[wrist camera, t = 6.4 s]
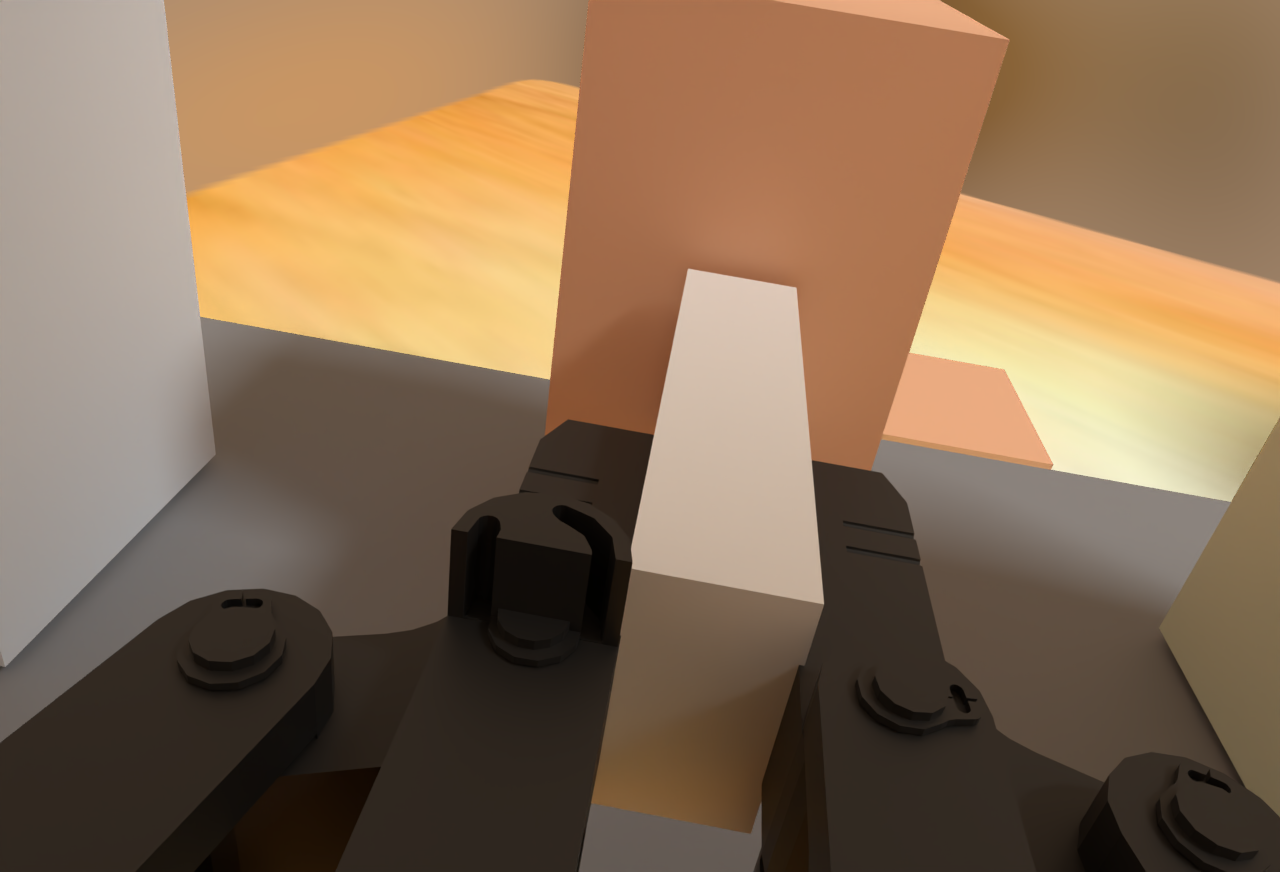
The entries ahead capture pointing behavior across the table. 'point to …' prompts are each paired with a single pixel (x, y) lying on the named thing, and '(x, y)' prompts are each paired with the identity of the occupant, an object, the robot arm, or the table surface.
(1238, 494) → the sage green block
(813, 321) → the terracotta key
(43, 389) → the light grey block
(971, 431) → the terracotta tile
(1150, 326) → the table surface
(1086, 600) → the charcoal key base
